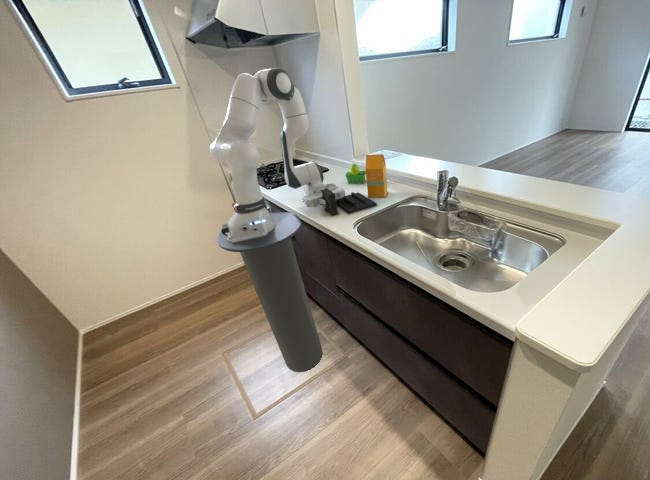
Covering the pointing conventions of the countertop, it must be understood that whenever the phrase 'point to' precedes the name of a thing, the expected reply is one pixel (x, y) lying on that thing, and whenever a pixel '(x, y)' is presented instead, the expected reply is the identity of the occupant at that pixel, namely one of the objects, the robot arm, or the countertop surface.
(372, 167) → the orange juice
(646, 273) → the countertop surface
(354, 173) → the fruit basket
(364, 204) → the base pad
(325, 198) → the upright pad
